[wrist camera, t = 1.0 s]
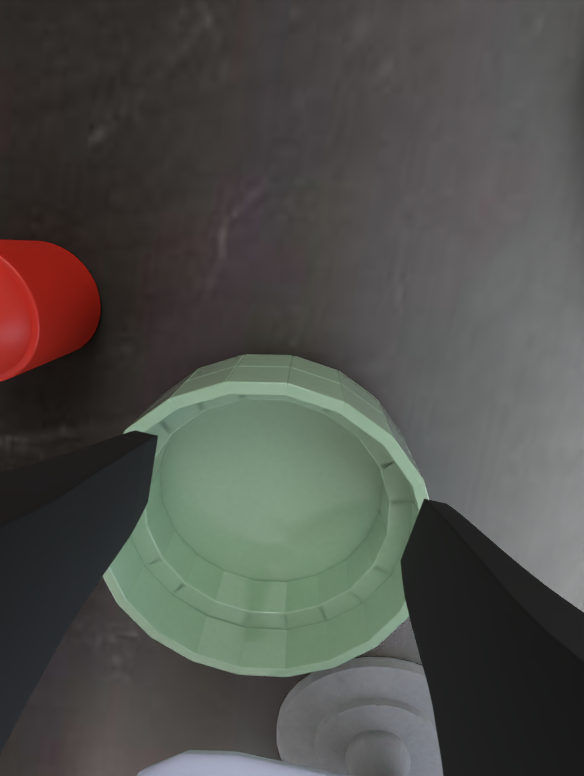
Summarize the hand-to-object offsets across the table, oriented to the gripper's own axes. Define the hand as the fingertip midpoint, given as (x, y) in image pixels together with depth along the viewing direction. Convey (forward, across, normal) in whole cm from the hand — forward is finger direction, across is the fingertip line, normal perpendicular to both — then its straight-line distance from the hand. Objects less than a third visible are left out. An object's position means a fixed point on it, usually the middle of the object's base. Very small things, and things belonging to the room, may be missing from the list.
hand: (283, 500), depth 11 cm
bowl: (+10, 0, +5) cm, 11 cm away
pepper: (+10, +12, -1) cm, 16 cm away
